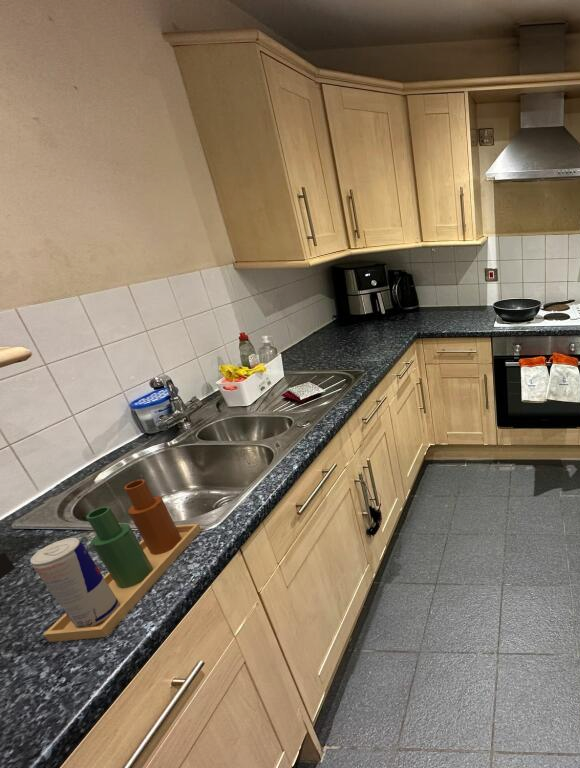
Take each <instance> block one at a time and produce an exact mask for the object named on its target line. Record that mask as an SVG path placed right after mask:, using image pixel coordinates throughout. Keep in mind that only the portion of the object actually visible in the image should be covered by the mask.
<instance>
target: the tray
mask: <svg viewBox="0 0 580 768" xmlns="http://www.w3.org/2000/svg"><path fill="white" fill-rule="evenodd" d="M175 526H176V528H177V530H178V532H179V534H180V536H181V538H182V539H181V541H180V542H179V543H178V544H177V545H176V546H175V547H174V548H173V549H172V550H170V551H168V552H165V553H162V554H157V555H153V554H151V553H150V551H149V549H148V547H147V546H146V544H145V542H144V540H143V539H142V540H141V541H139V543H140V545H141V547H142V549H143V551H144V553H145V554H146V556H147V558H148V560H149V562H150V563H151V565H152V567H153V571H152V572H151V573H150V574H149V575H148V576H147V577H146V578H145V579H144V580H143V581H142V582H141V583H139V584H137V585H135V586H132V587H129V588H119V587H118V586H117V585H116V583H115V581H114V580H113V578H112V576H111V575H110V573H109V572H107V573H106V574H105V575H103V577H104V579H105V580H106V582H107V584H108V585H109V587H110V588H111V590H112V591H113V593H114V595H115V596H116V598H117V599H118V601H119V605H118V607H117V609H116V610H115V611H114V613H113V614H112V615H111V616H109V617H108V618H107V619H105V620H104V621H102V622H100V623H99V624H97V625H94V626H92V627H87V628H76V627H75V625H74V624H73V623H72V621H71V620H70V618H69V617H68V616H67V614H66V613H65V612H64V614H63V615H62V616H61V617H60V618H59V619H58V620H57V621H56V622H54V624H52V626H50V627H49V628H48V629H47V630H46V631H45V632H44V633H43V636H44V638H45V640H46V641H47V642H48V643H55V642H64V641H67V642H68V641H77V640H78V641H79V640H86V639H97V638H98V639H100V638H107V637H108V636H109V635H110V634H111V633H112V631H114V629H115V628H116V627H117V626H118V625H119V624H120V623H121V621H122V620H123V619H124V618H125V617H126V616H127V615H128V614H129V613H130V611H131V610H132V609H133V608H134V607H135V606H136V605H137V604H138V602H139V601H140V600H141V599H142V598H143V597H144V596H145V595H146V594H147V592H148V591H149V590H150V589H151V588H152V587H153V585H154V584H155V583H157V581H158V580H159V579H160V578H161V577H162V575H164V573H165V572H166V571H167V570H168V569H169V568H170V566H171V565H172V564H174V562H175V561H176V560H177V559H178V558H179V557H180V556H181V554H182V553H183V552H185V550H186V549H187V548H188V546H190V545H191V543H192V542H193V541H194V540H195V539H196V538H197V537H198V535H199V534H200V533H201V532H202V531H203V530H202V527H201V525H200V523H190V524H177V525H176V524H175Z"/></svg>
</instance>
